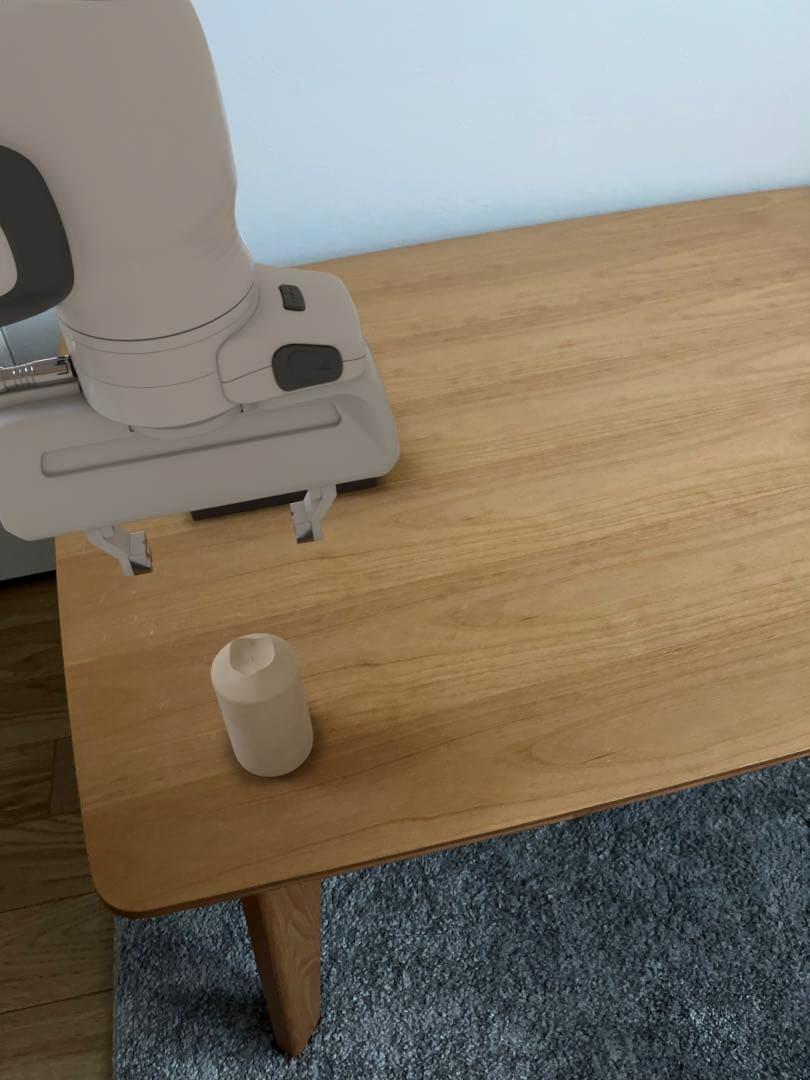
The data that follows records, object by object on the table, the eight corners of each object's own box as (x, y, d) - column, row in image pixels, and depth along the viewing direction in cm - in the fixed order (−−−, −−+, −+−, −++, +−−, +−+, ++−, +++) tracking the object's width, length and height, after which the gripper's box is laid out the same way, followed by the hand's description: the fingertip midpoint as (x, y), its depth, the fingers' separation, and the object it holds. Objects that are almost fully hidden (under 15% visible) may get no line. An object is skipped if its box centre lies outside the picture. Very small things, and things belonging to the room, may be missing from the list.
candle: (218, 746, 69) (188, 656, 62) (277, 697, 72) (254, 605, 65) (271, 793, 67) (245, 703, 60) (330, 739, 69) (313, 648, 62)
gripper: (-72, 421, 43) (31, 630, 53) (398, 341, 45) (413, 555, 55) (-56, 340, 47) (36, 547, 57) (371, 271, 50) (390, 481, 59)
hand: (224, 550), depth 56 cm, fingers open, 8 cm apart
